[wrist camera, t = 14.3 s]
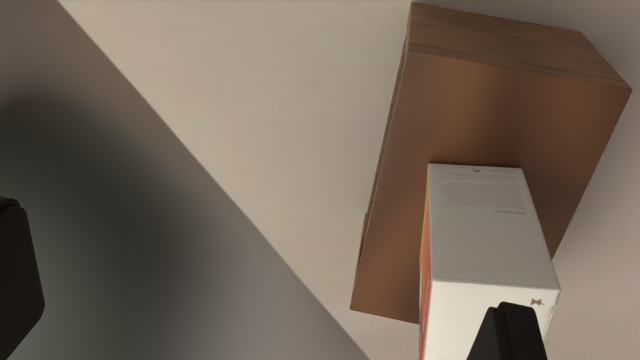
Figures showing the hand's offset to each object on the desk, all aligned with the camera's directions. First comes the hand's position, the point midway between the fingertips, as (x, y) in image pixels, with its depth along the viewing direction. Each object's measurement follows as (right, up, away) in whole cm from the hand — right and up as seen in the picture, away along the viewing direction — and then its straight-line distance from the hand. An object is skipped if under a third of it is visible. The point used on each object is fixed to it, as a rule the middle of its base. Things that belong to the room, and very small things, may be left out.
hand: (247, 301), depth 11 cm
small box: (+11, 0, +23) cm, 26 cm away
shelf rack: (+13, +6, +32) cm, 35 cm away
